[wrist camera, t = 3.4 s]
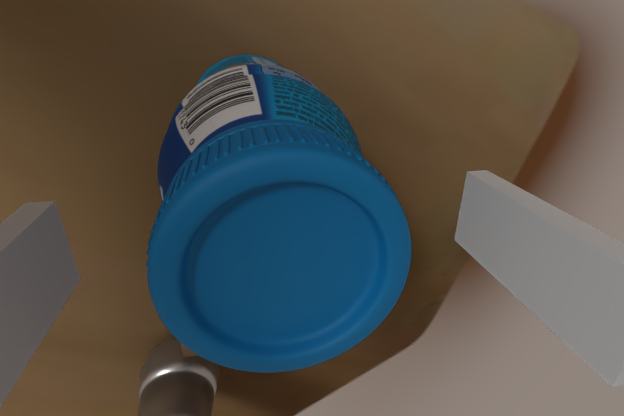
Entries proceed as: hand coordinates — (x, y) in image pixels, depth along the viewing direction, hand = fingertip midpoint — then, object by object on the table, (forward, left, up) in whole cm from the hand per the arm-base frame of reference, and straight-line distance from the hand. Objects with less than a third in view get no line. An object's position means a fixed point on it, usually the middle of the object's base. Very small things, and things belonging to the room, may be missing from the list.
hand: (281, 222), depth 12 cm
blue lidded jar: (0, 0, -17) cm, 17 cm away
